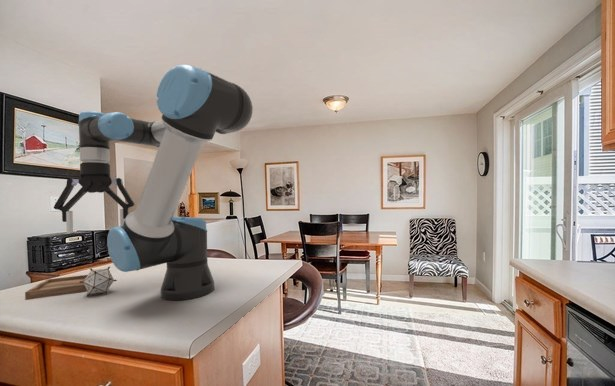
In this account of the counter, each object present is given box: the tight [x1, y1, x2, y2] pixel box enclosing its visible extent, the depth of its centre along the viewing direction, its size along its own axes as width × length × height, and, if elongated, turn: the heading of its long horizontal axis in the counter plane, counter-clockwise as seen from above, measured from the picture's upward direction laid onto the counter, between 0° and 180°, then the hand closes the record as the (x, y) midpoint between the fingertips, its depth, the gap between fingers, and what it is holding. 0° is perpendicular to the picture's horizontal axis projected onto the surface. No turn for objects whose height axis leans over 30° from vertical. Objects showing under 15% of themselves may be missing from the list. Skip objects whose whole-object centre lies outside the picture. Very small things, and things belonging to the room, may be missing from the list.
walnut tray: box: [24, 274, 88, 300], centre depth 96 cm, size 15×15×2 cm
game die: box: [80, 266, 118, 297], centre depth 89 cm, size 9×8×10 cm
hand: (97, 231), depth 89 cm, fingers open, 13 cm apart
